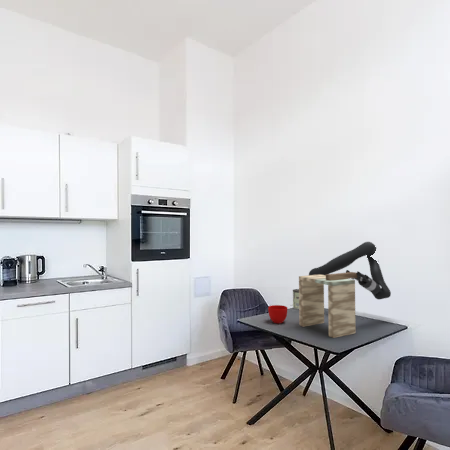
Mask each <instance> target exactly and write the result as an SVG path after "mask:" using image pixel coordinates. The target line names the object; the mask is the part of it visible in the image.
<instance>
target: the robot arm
mask: <svg viewBox="0 0 450 450" xmlns="http://www.w3.org/2000/svg"><path fill="white" fill-rule="evenodd" d="M375 246H376V245H375V244H374V243H373V242H371V241H365V242H363V243H361V244H360V245H358V246H356V247H355V248H354V249H351V250H349V251H347V252H344V253H342V254H339V255H337V256H336V257H333V258H332V259H331V260H329V261H328V262H326V263H324V264H323V265H321V266H317V267H314V268H312V269H311V270H309V272H308V275H318V274H320V275H326V274H334V273H335V272H339V271H340V270H343V269H345V268H347V267H349V266H350V265H352V264H353V263H354V262H355V261H356V260H358V259H361V258H362V257H365V256H366V255H367V257H366V258H368V259H367V260H368V265H369V272H370V276H371V277H370V276H368V275H367V274H364V273H361V272H360V271H356V274H357V278H350V279H351V280H355V281H356V282H357V283H358V285H360V287H361V288H362V287H363V288H364V289H365V290H367V291H369V293H371V294H372V295H373V297H374V298H375V299H376V300H383V299H388V298H390V297H391V293H392V292H391V290H390V288H389V287H388V285H387V283H386V282H385V279H384V276H383V273H382V270H381V266H380V264H378V263H377V261H376V260H374V259H373V258H372V257H370V256H371V255H373V254H374V253H375V251H376V249H377V246H376V247H375ZM347 272H351V271H350V270H348V269H346V271H345V273H347Z"/></svg>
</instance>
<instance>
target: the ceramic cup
mask: <svg viewBox="0 0 450 450" xmlns="http://www.w3.org/2000/svg"><path fill="white" fill-rule="evenodd" d="M267 310H268V316H269V318H270V320H271V321H272V323H274V324H283V323H284V322H285V320H286V318H287V316H288V307H287V306H286V305H279V304H274V305H272V304H271V305H268V309H267Z"/></svg>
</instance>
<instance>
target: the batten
mask: <svg viewBox="0 0 450 450" xmlns="http://www.w3.org/2000/svg"><path fill="white" fill-rule="evenodd" d="M356 273H357V271H355V272H353V271H350V272H347V273H346V272H338V273H330V274H326V280H330V281H332V280H341V279H351V278H357V274H356Z"/></svg>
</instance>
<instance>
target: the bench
mask: <svg viewBox="0 0 450 450" xmlns="http://www.w3.org/2000/svg"><path fill="white" fill-rule="evenodd" d="M325 286H327V301H328V302H327V303H328V304H327V306H328V308H327V309H328V310H327V311H328V312H327V313H328V315H327V316H328V318H327V319H328V337H329V338H333V339H335V338H339V337H345V336H350V335H353V334H356V330H357V329H356V327H357V326H356V280H355V279H354V280H353V279H351V278H350V279H341V280H332V281H330V280H326V275H320V274H318V275H309V274H308V275H300V276H298V289H299V309H298V310H299V311H298V315H299V317H298V321H299V322H298V323H299V326H301V327H303V328H304V327H309V326H316V325H321V324H325Z"/></svg>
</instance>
